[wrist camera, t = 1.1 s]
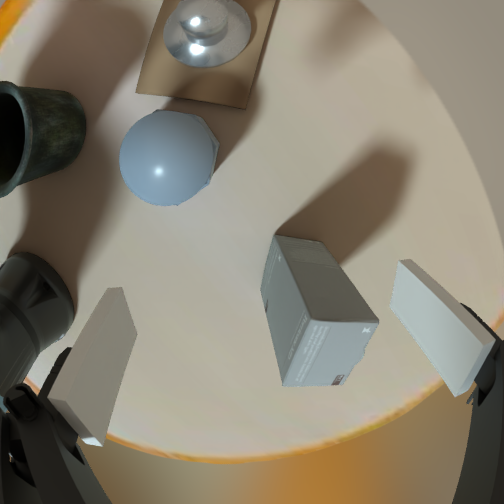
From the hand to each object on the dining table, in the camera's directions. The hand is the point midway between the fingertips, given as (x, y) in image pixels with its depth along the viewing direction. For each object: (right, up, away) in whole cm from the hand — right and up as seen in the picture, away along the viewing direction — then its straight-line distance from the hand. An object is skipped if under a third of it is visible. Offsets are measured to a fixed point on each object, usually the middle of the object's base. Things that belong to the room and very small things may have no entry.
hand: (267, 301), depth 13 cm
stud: (-5, +25, +11) cm, 28 cm away
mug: (-26, +18, +13) cm, 34 cm away
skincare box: (+4, 0, +23) cm, 24 cm away
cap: (-9, +13, +16) cm, 23 cm away
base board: (-5, +25, +11) cm, 28 cm away
